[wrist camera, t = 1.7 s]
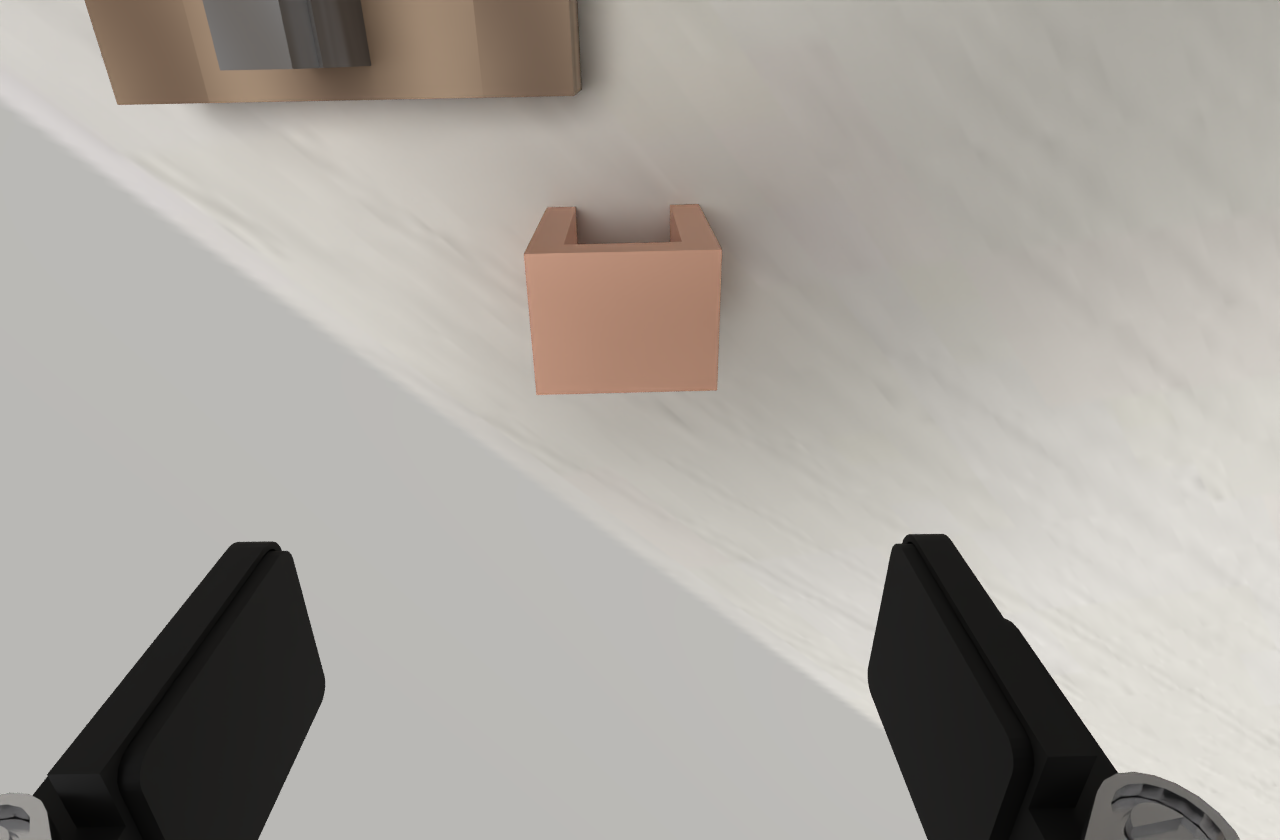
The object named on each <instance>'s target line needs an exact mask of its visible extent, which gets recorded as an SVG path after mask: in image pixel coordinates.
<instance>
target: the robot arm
mask: <svg viewBox="0 0 1280 840" xmlns="http://www.w3.org/2000/svg"><path fill="white" fill-rule="evenodd" d="M868 684H869V689H870V693H871V696H872V698H873V701H874V703H875V706H876V708H877V711H878V713H879V716H880V719H881V721H882V724H883V726H884V729H885V731H886V734H887V736H888V739H889V742H890V744H891V746H892V749H893V752H894V754H895V757H896V760H897V762H898V764H899V767H900V770H901V772H902V775H903V777H904V780H905V783H906V785H907V787H908V790H909V792H910V795H911V798H912V801H913V803H914V806H915V808H916V811H917V813H918V816H919V818H920V821H921V823H922V826H923V828H924V831H925V834H926V836H927V839H928V840H1240V839H1239V837H1238V835H1237V833H1236V832H1235V830H1234V829H1233V828H1232V827H1231V826H1230V825H1229V824H1228V823H1227V821H1226V820H1225V819H1224V818H1223V817H1222V816H1221V815H1220V813H1219V812H1217V811H1216V810H1215V809H1214V808H1212V807H1211V806H1210V805H1209V804H1207V803H1206V802H1205V801H1204V800H1202V799H1201V798H1200V797H1199V796H1197V795H1195V794H1193V793H1192V792H1190V791H1188V790H1186V789H1185V788H1183V787H1181V786H1180V785H1178V784H1176V783H1173V782H1171V781H1168V780H1165V779H1163V778H1160V777H1157V776H1155V775H1149V774H1143V773H1137V772H1128V773H1118V772H1117V771H1116V769H1115V768H1114V767H1113V765H1112V764H1111V762H1110V761H1109V759H1108V758H1107V756H1106V755H1105V754H1104V752H1103V751H1102V749H1101V748H1100V746H1099V745H1098V743H1097V742H1096V741H1095V739H1094V738H1093V736H1092V735H1091V733H1090V732H1089V730H1088V729H1087V728H1086V726H1085V725H1084V723H1083V722H1082V720H1081V719H1080V717H1079V716H1078V715H1077V713H1076V712H1075V710H1074V709H1073V707H1072V706H1071V704H1070V703H1069V702H1068V700H1067V699H1066V697H1065V696H1064V694H1063V693H1062V691H1061V690H1060V689H1059V687H1058V686H1057V684H1056V683H1055V681H1054V680H1053V678H1052V677H1051V676H1050V674H1049V673H1048V671H1047V670H1046V668H1045V667H1044V665H1043V664H1042V663H1041V661H1040V660H1039V658H1038V657H1037V655H1036V654H1035V652H1034V651H1033V650H1032V648H1031V647H1030V645H1029V644H1028V642H1027V641H1026V639H1025V638H1024V637H1023V635H1022V634H1021V632H1020V631H1019V629H1018V628H1017V627H1016V626H1015V625H1014V624H1013V623H1012V622H1011V621H1009V620H1007V619H1004V618H1003V616H1002V615H1001V613H1000V612H999V610H998V609H997V607H996V606H995V604H994V603H993V601H992V600H991V598H990V597H989V595H988V594H987V593H986V591H985V590H984V588H983V587H982V585H981V584H980V582H979V581H978V579H977V578H976V576H975V575H974V573H973V572H972V570H971V569H970V568H969V566H968V565H967V563H966V562H965V560H964V559H963V557H962V556H961V554H960V553H959V551H958V550H957V548H956V547H955V545H954V544H953V543H952V541H951V540H950V538H949V537H948V536H947V535H944V534H909V535H907V536H906V537H905V538H904V540H903V543H902V544H895V545H894V546H893V547H892V551H891V555H890V560H889V565H888V570H887V575H886V580H885V585H884V590H883V596H882V601H881V606H880V611H879V616H878V621H877V626H876V631H875V636H874V641H873V646H872V651H871V656H870V661H869V666H868ZM324 691H325V677H324V673H323V669H322V665H321V662H320V658H319V654H318V650H317V647H316V643H315V640H314V636H313V632H312V628H311V624H310V620H309V617H308V614H307V609H306V605H305V602H304V598H303V594H302V590H301V587H300V583H299V579H298V575H297V572H296V568H295V564H294V561H293V557H292V555H291V554H290V553H289V552H288V551H282V550H281V548H280V546H279V545H278V544H277V543H276V542H236V543H234V544H232V545H231V546H230V547H229V548H228V549H227V550H226V552H225V553H224V554H223V555H222V557H221V558H220V559H219V560H218V562H217V563H216V564H215V565H214V567H213V568H212V569H211V570H210V572H209V573H208V574H207V575H206V577H205V578H204V579H203V580H202V582H201V583H200V584H199V585H198V587H197V588H196V589H195V590H194V592H193V593H192V594H191V596H190V597H189V598H188V599H187V600H186V602H185V603H184V604H183V605H182V607H181V608H180V609H179V610H178V612H177V613H176V614H175V615H174V617H173V618H172V619H171V620H170V622H169V623H168V624H167V625H166V627H165V628H164V629H163V630H162V632H161V633H160V634H159V635H158V637H157V638H156V639H155V640H154V642H153V643H152V644H151V645H150V647H149V648H148V649H147V650H146V652H145V653H144V654H143V656H142V657H141V658H140V659H139V660H138V662H137V663H136V664H135V665H134V667H133V668H132V669H131V670H130V672H129V673H128V674H127V675H126V677H125V678H124V679H123V680H122V682H121V683H120V684H119V686H118V687H117V688H116V689H115V691H114V692H113V693H112V694H111V695H110V697H109V698H108V699H107V700H106V702H105V703H104V704H103V705H102V707H101V708H100V709H99V710H98V712H97V713H96V714H95V715H94V717H93V718H92V719H91V720H90V722H89V723H88V724H87V725H86V727H85V728H84V729H83V730H82V732H81V733H80V734H79V735H78V737H77V738H76V739H75V740H74V742H73V743H72V744H71V745H70V747H69V748H68V749H67V750H66V752H65V753H64V754H63V755H62V757H61V758H60V759H59V760H58V762H57V763H56V764H55V765H54V767H53V768H52V769H51V770H50V772H49V773H48V774H47V775H48V777H47V778H46V779H45V780H44V782H43V783H42V784H41V786H40V787H39V788H38V789H37V791H36V792H35V793H34V794H33V796H32V795H30V794H22V793H7V794H1V795H0V840H258V838H259V836H260V834H261V832H262V830H263V827H264V825H265V823H266V821H267V819H268V817H269V814H270V812H271V810H272V808H273V806H274V804H275V802H276V800H277V797H278V795H279V793H280V791H281V789H282V787H283V784H284V782H285V780H286V778H287V776H288V774H289V772H290V769H291V767H292V765H293V763H294V761H295V759H296V757H297V754H298V752H299V750H300V748H301V746H302V744H303V741H304V739H305V737H306V735H307V733H308V731H309V728H310V726H311V724H312V722H313V720H314V718H315V716H316V713H317V711H318V709H319V707H320V705H321V702H322V700H323V696H324Z"/></svg>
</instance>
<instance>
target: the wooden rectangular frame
mask: <svg viewBox="0 0 1280 840" xmlns="http://www.w3.org/2000/svg"><path fill="white" fill-rule="evenodd" d="M85 3H86V6H87V10H88V13H89V16H90V19H91V22H92V25H93V29H94V32H95V35H96V38H97V41H98V44H99V48H100V51H101V54H102V57H103V60H104V63H105V66H106V70H107V73H108V76H109V79H110V82H111V85H112V89H113V92H114V95H115V98H116V101H117V104H118V105H132V104H182V103H233V102H284V101H335V100H385V99H436V98H487V97H538V96H574V95H576V94H577V93H578V92H579V91H580V90H582V88H581V67H580V47H579V26H578V6H577V0H85Z"/></svg>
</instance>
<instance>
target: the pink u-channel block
mask: <svg viewBox="0 0 1280 840" xmlns="http://www.w3.org/2000/svg"><path fill="white" fill-rule="evenodd" d="M524 261H525V272H526V283H527V294H528V305H529V316H530V328H531V339H532V350H533V361H534V372H535V383H536V394H537V395H548V394H588V393H629V392H669V391H710V390H717V378H718V349H719V320H720V291H721V262H722V249H721V247H720V245H719V243H718V241H717V239H716V237H715V235H714V233H713V231H712V229H711V227H710V225H709V224H708V222H707V220H706V218H705V216H704V214H703V212H702V210H701V208H700V206H699V204H687V205H670V242H655V243H610V244H578V243H577V225H576V207H548V208H547V209H546V211H545V213H544V215H543V217H542V219H541V221H540V223H539V225H538V227H537V229H536V231H535V233H534V235H533V237H532V239H531V241H530V243H529V245H528V247H527V249H526V251H525V253H524Z"/></svg>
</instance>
